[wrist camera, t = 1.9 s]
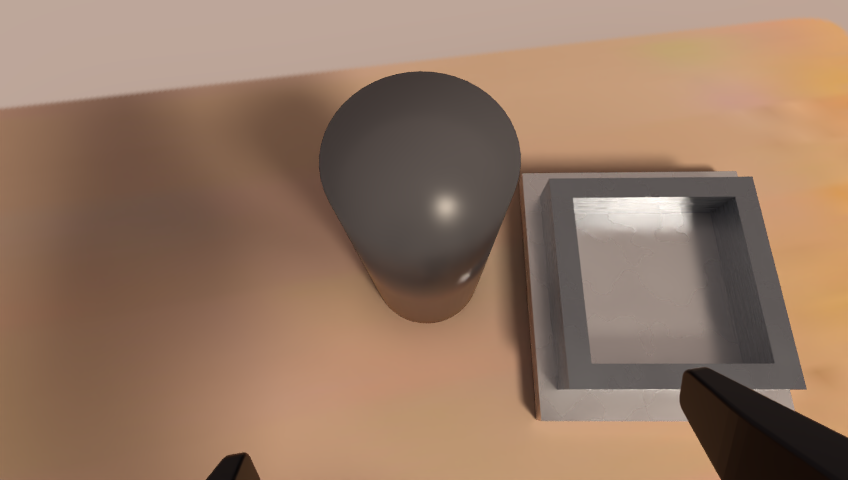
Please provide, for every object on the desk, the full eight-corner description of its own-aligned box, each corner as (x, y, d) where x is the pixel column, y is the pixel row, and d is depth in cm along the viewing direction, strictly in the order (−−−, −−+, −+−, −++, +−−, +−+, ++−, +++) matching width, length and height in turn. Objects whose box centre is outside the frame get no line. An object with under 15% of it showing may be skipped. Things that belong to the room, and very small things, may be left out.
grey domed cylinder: (479, 323, 22) (527, 250, 11) (373, 323, 22) (311, 252, 11) (476, 223, 24) (514, 69, 12) (377, 224, 24) (325, 72, 13)
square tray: (780, 420, 20) (836, 424, 18) (536, 419, 21) (552, 424, 18) (724, 179, 24) (763, 151, 21) (518, 181, 25) (530, 154, 22)
